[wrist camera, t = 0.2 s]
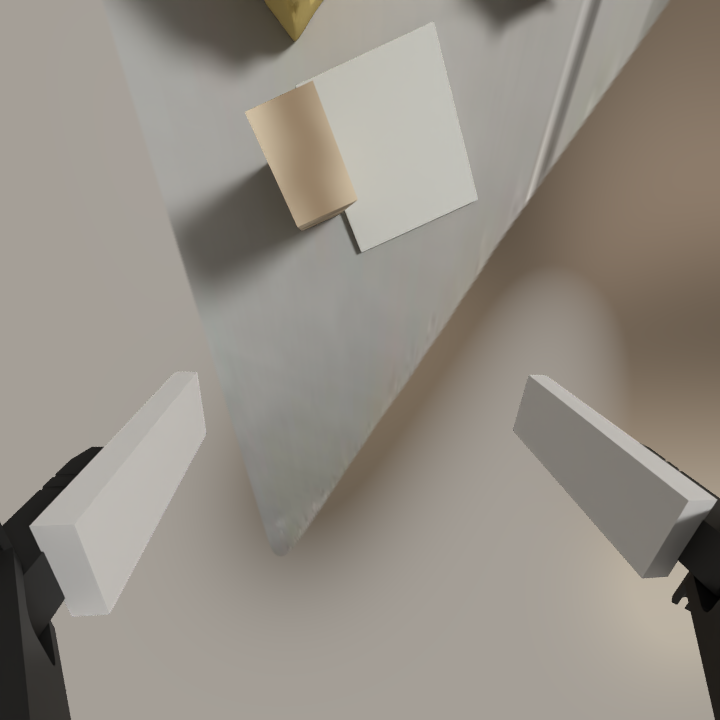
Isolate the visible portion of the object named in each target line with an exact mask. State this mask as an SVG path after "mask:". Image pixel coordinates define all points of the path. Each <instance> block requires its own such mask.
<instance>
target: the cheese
mask: <svg viewBox="0 0 720 720" xmlns="http://www.w3.org/2000/svg"><path fill="white" fill-rule="evenodd" d="M322 1H323V0H265V3H266V5H267V6H268V7H269V9H270V10H271V11H272V13H273V14H274V15H275V16H276V18H277V19H278V20H279V22H280V23H281V24H282V26H283V27H284V29H285V30H286V31H287V33H288V34H289V35H290V37H291V38H292V39H293V40H294V41H296V40H297V39H298V38H299V37H300V35H301V34H302V32H303V31H304V29H305V28H306V26H307V24H308V22H309V21H310V19H311V18H312V16H313V14H314V13H315V11H316V10H317V8H318V7H319V6H320V4H321V3H322Z"/></svg>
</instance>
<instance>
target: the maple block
mask: <svg viewBox="0 0 720 720" xmlns="http://www.w3.org/2000/svg"><path fill="white" fill-rule="evenodd" d="M245 113H246V116H247V118H248V120H249V122H250V124H251V126H252V129H253V131H254V133H255V135H256V137H257V140H258V142H259V144H260V146H261V148H262V150H263V153H264V155H265V157H266V159H267V161H268V164H269V166H270V168H271V170H272V172H273V174H274V177H275V179H276V181H277V183H278V185H279V188H280V190H281V192H282V194H283V196H284V199H285V201H286V203H287V205H288V207H289V209H290V212H291V214H292V216H293V218H294V220H295V223H296V225H297V227H298V228H299V229H300V230H302V231H303V230H306V229H308V228H310V227H312V226H314V225H317V224H319V223H321V222H323V221H325V220H328V219H330V218H332V217H334V216H336V215H338V214H341V213H342V212H343V211H344V210H346V209H347V208H348V207H349V206H351V205H352V204H353V203H354V202H356V201H357V200H358V199H357V196H356V193H355V191H354V188H353V185H352V183H351V180H350V177H349V175H348V172H347V169H346V167H345V164H344V162H343V159H342V156H341V154H340V151H339V148H338V146H337V143H336V140H335V138H334V135H333V133H332V130H331V127H330V125H329V122H328V119H327V117H326V114H325V111H324V109H323V106H322V104H321V101H320V98H319V96H318V93H317V90H316V88H315V85H314V82H313V81H310V82H308V83H306V84H304V85H302V86H300V87H298V88H295V89H293V90H291V91H289V92H287V93H285V94H282V95H280V96H278V97H276V98H274V99H272V100H269V101H267V102H265V103H263V104H261V105H259V106H257V107H254V108H252V109H250V110H248V111H246V112H245Z"/></svg>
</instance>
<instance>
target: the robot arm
mask: <svg viewBox="0 0 720 720" xmlns="http://www.w3.org/2000/svg"><path fill="white" fill-rule="evenodd" d="M513 431H514V432H515V433H516V434H517V435H518V437H519V438H520V439H521V440H522V441H523V442H524V444H525V445H526V446H527V447H528V448H529V449H530V450H531V452H532V453H533V454H534V455H535V456H536V457H537V458H538V460H539V461H540V462H541V463H542V464H543V465H544V466H545V468H546V469H547V470H548V471H549V472H550V473H551V474H552V475H553V477H554V478H555V479H556V480H557V481H558V483H559V484H560V485H561V486H562V487H563V488H564V489H565V491H566V492H567V493H568V494H569V495H570V496H571V497H572V498H573V500H574V501H575V502H576V503H577V504H578V505H579V507H580V508H581V509H582V510H583V511H584V512H585V513H586V515H587V516H588V517H589V518H590V519H591V520H592V521H593V523H594V524H595V525H596V526H597V527H598V528H599V530H600V531H601V532H602V533H603V534H604V535H605V536H606V538H607V539H608V540H609V541H610V542H611V543H612V544H613V546H614V547H615V548H616V549H617V550H618V551H619V552H620V554H621V555H622V556H623V557H624V558H625V559H626V560H627V562H628V563H629V564H630V565H631V566H632V567H633V568H634V570H635V571H636V572H637V573H638V574H639V575H640V577H641V578H653V577H667V576H668V575H669V574H670V572H671V571H672V569H673V567H674V566H675V564H676V563H677V561H678V560H679V562H681V563H682V564H683V565H684V566H685V567H686V568H687V569H688V570H689V573H688V574H687V575H686V577H685V578H684V580H683V581H682V583H681V584H680V586H679V587H678V589H677V590H676V591H675V593H674V594H673V596H672V603H675V604H678V603H679V601H680V600H681V598H682V597H687V598H688V602H689V603H688V604H687V605H686V607H685V609H687V610H689V611H691V615H692V620H693V624H694V629H695V633H696V637H697V641H698V646H699V650H700V655H701V659H702V664H703V668H704V673H705V677H706V682H707V686H708V691H709V695H710V699H711V704H712V708H713V713H714V717H715V720H720V498H719V497H717V496H716V495H714V494H713V493H712V492H710V491H709V490H707V489H706V488H705V487H703V486H702V485H700V484H699V483H698V482H696V481H695V480H694V479H692V478H691V477H689V476H688V475H687V474H685V473H684V472H682V471H679V469H678V468H677V467H675V466H674V465H672V464H671V463H670V462H666V461H665V459H664V458H663V457H662V456H660V455H659V454H657V453H656V452H655V451H653V450H652V449H650V448H649V447H647V446H644V445H643V444H641V443H639V442H637V441H636V440H635V439H633V438H632V437H630V436H629V435H628V434H626V433H625V432H624V431H622V430H621V429H619V428H618V427H617V426H615V425H614V424H612V423H611V422H610V421H608V420H607V419H606V418H604V417H603V416H602V415H600V414H599V413H597V412H596V411H595V410H593V409H592V408H591V407H589V406H588V405H586V404H585V403H584V402H582V401H581V400H579V399H578V398H577V397H575V396H574V395H573V394H571V393H570V392H569V391H567V390H566V389H564V388H563V387H562V386H560V385H559V384H558V383H556V382H555V381H553V380H552V379H551V378H549V377H548V376H546V375H529V376H528V380H527V383H526V387H525V390H524V393H523V397H522V401H521V404H520V407H519V411H518V414H517V418H516V422H515V425H514V428H513ZM205 435H206V427H205V420H204V414H203V407H202V401H201V394H200V387H199V382H198V374H197V372H175V373H174V374H173V375H172V376H171V377H170V378H169V379H168V380H167V381H166V382H165V383H164V384H163V385H162V386H161V387H160V388H159V389H158V391H157V392H156V393H155V394H154V395H153V396H152V397H151V398H150V399H149V400H148V401H147V402H146V403H145V405H143V406H142V408H141V409H140V410H139V411H138V412H137V413H136V414H135V415H134V416H133V417H132V418H131V419H130V420H129V421H128V422H127V423H126V424H125V425H124V426H123V428H122V429H121V430H120V431H119V432H118V433H117V434H116V435H115V436H114V437H113V438H112V439H111V440H110V441H109V443H107V444H106V446H105V447H91V448H89V449H88V450H86V451H85V452H83V453H81V454H79V455H78V456H76V457H74V458H73V459H71V460H70V461H69V462H68V463H67V464H66V465H65V466H64V467H63V468H62V469H61V470H59V472H57V473H56V476H55V477H52V478H51V479H50V480H49V481H48V482H47V483H46V484H45V485H44V486H43V489H42V490H39V491H38V492H37V493H36V494H35V495H34V496H33V497H32V498H31V499H30V500H29V501H28V502H27V503H25V504H24V505H23V506H22V508H20V509H19V510H18V511H17V512H16V513H15V514H14V515H13V516H12V517H11V518H10V519H9V520H8V521H7V522H6V523H5V524H4V525H3V526H2V525H1V523H0V720H71V718H70V712H69V706H68V700H67V695H66V689H65V684H64V678H63V673H62V667H61V661H60V656H59V650H58V644H57V639H56V633H55V628H54V626H53V625H52V622H51V618H52V617H53V616H54V614H55V613H56V611H57V609H58V608H59V607H60V605H61V604H62V602H63V601H65V603H66V606H67V608H68V610H69V612H70V614H71V616H72V617H74V616H91V615H106V614H110V612H111V611H112V609H113V607H114V605H115V603H116V601H117V599H118V598H119V596H120V593H121V592H122V590H123V588H124V586H125V584H126V583H127V581H128V579H129V577H130V575H131V573H132V571H133V569H134V568H135V565H136V564H137V562H138V560H139V558H140V556H141V555H142V553H143V551H144V549H145V547H146V545H147V543H148V541H149V540H150V538H151V536H152V534H153V532H154V530H155V529H156V527H157V525H158V523H159V521H160V519H161V517H162V515H163V514H164V512H165V510H166V508H167V506H168V504H169V502H170V500H171V499H172V497H173V495H174V493H175V491H176V489H177V488H178V486H179V484H180V482H181V480H182V478H183V476H184V474H185V473H186V471H187V469H188V467H189V465H190V463H191V461H192V459H193V457H194V456H195V454H196V452H197V450H198V448H199V446H200V445H201V443H202V441H203V439H204V437H205Z"/></svg>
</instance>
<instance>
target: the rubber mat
mask: <svg viewBox="0 0 720 720" xmlns="http://www.w3.org/2000/svg"><path fill="white" fill-rule="evenodd" d="M310 81H313V82H314V85H315V88H316V90H317V93H318V96H319V98H320V101H321V104H322V106H323V109H324V111H325V114H326V117H327V119H328V122H329V125H330V127H331V130H332V133H333V135H334V138H335V140H336V143H337V146H338V148H339V151H340V154H341V156H342V159H343V162H344V164H345V167H346V169H347V172H348V175H349V177H350V180H351V183H352V185H353V188H354V191H355V193H356V196H357V199H358V200H357V201H356V202H354V203H353V204H352V205H351V206H349V207H348V208H347V209H346V210H344V211H345V214H346V216H347V219H348V221H349V224H350V226H351V229H352V231H353V234H354V236H355V239H356V241H357V244H358V246H359V249H360V251H361V252H364V251H366V250H368V249H370V248H372V247H375V246H377V245H379V244H381V243H383V242H386V241H388V240H390V239H392V238H394V237H397V236H399V235H401V234H403V233H405V232H408V231H410V230H412V229H414V228H416V227H419V226H421V225H423V224H425V223H427V222H430V221H432V220H434V219H436V218H438V217H441V216H443V215H445V214H447V213H449V212H452V211H454V210H456V209H458V208H460V207H463V206H465V205H467V204H469V203H471V202H474V201H476V200H478V197H477V193H476V189H475V185H474V181H473V177H472V173H471V169H470V165H469V161H468V157H467V153H466V149H465V145H464V141H463V137H462V133H461V129H460V125H459V121H458V117H457V113H456V109H455V105H454V100H453V96H452V92H451V88H450V84H449V80H448V76H447V72H446V68H445V64H444V60H443V56H442V52H441V48H440V44H439V40H438V36H437V32H436V28H435V24H434V21H433V22H431V23H429V24H427V25H424V26H422V27H420V28H418V29H416V30H414V31H411V32H409V33H407V34H405V35H403V36H401V37H399V38H396V39H394V40H392V41H390V42H388V43H386V44H383V45H381V46H379V47H377V48H375V49H373V50H370V51H368V52H366V53H364V54H362V55H360V56H358V57H355V58H353V59H351V60H349V61H347V62H345V63H342V64H340V65H338V66H336V67H334V68H332V69H329V70H327V71H325V72H323V73H321V74H319V75H317V76H314V77H312V78H310V79H308V80H306V81H304V82H301V83H299V84H297V85H295V88H298V87H300V86H302V85H304V84H306V83H308V82H310Z"/></svg>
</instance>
